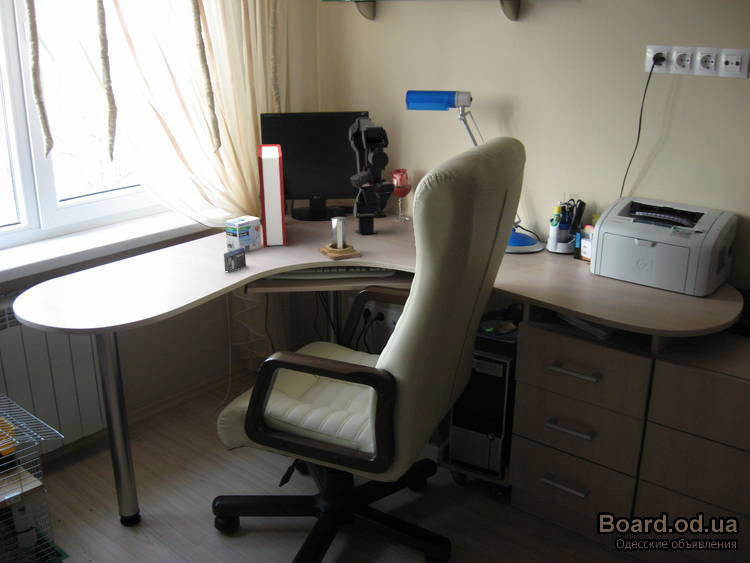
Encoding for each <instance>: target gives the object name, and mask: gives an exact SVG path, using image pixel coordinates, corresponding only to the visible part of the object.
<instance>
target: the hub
mask: <svg viewBox="0 0 750 563" xmlns="http://www.w3.org/2000/svg"><path fill="white" fill-rule="evenodd" d="M318 252H319V253H320V252H321V253H320V254H322V255H323V256H325V255H326V257H327V256H328V257H327V258H329V259H331V260H332V259H333V260H332V261H339V259H340V260H344V259H345V258H346V259H350V258H351V257H352V258H357V257H361V256H362V254H361V253H362V252H360V251H358V250H356V249H355V248H354V245H352V244H351V243H348V242H347V248H345V249H332V243H328V244H327V245H325V246H324V247H319V248H318Z"/></svg>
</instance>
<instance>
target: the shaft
mask: <svg viewBox="0 0 750 563" xmlns="http://www.w3.org/2000/svg"><path fill="white" fill-rule="evenodd" d="M330 221H331V222H330V223H331V225H330V226H331V244H332V249H345V248H347V243H348V242H347V241H348V240H347V237H348V236H347V235H348V234H347V217H344V216H334V217H332V218H331V219H330Z"/></svg>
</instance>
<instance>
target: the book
mask: <svg viewBox="0 0 750 563" xmlns="http://www.w3.org/2000/svg"><path fill="white" fill-rule="evenodd" d="M257 149H258V150H257V162H258V175H259V176H258V179H259V193H260V194H259V195H260V196H259V197H260V212H261V228H262V232H261V233H262V245H263V246H262V247H263V248H265V247H268V246H285V247H287V233H286V232H287V230H286V214H285V212H286V211H285V192H284V191H285V190H284V171H283V167H284V166H283V155H282V154H283V153H282V148H281V144H277V143H276V144H271V143H270V144H258V146H257Z"/></svg>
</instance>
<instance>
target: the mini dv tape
mask: <svg viewBox="0 0 750 563" xmlns="http://www.w3.org/2000/svg"><path fill="white" fill-rule="evenodd" d="M223 259H224V261H223V262H224V271H228V272H227V273H231V272H233V271H232V270H234V271H236V270H235V269H237V270H239V269H241V267H242V268H244V267H246V266H247V264H246V263H247V262H246V261H247V260H246V259H247V258H246V252H245V249H244V248H238V249H236V250H233V251H227V252H225V253H223ZM238 268H239V269H238ZM230 271H231V272H230Z"/></svg>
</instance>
